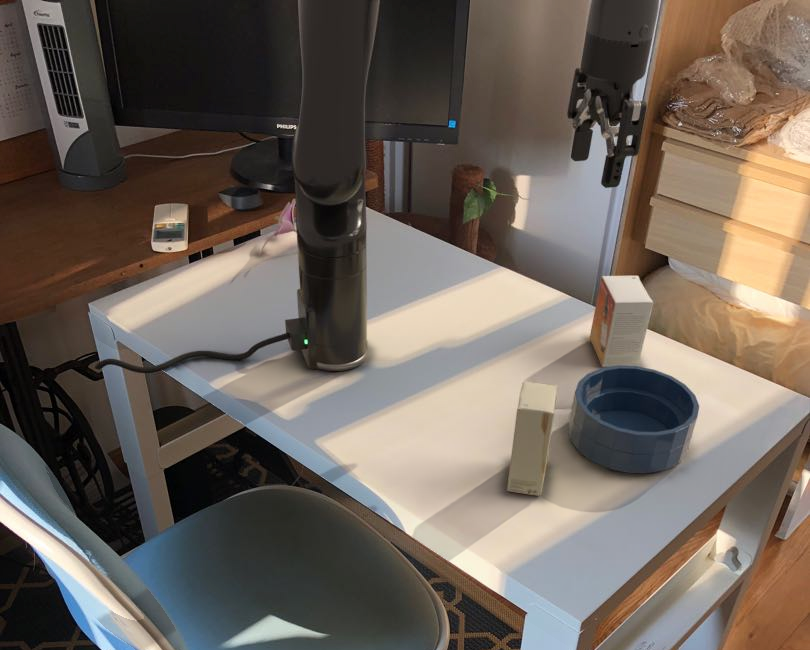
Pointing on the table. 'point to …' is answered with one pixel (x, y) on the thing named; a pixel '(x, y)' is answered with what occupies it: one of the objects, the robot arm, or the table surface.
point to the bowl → (632, 418)
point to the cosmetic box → (532, 437)
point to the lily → (284, 221)
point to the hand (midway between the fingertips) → (594, 172)
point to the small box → (620, 320)
